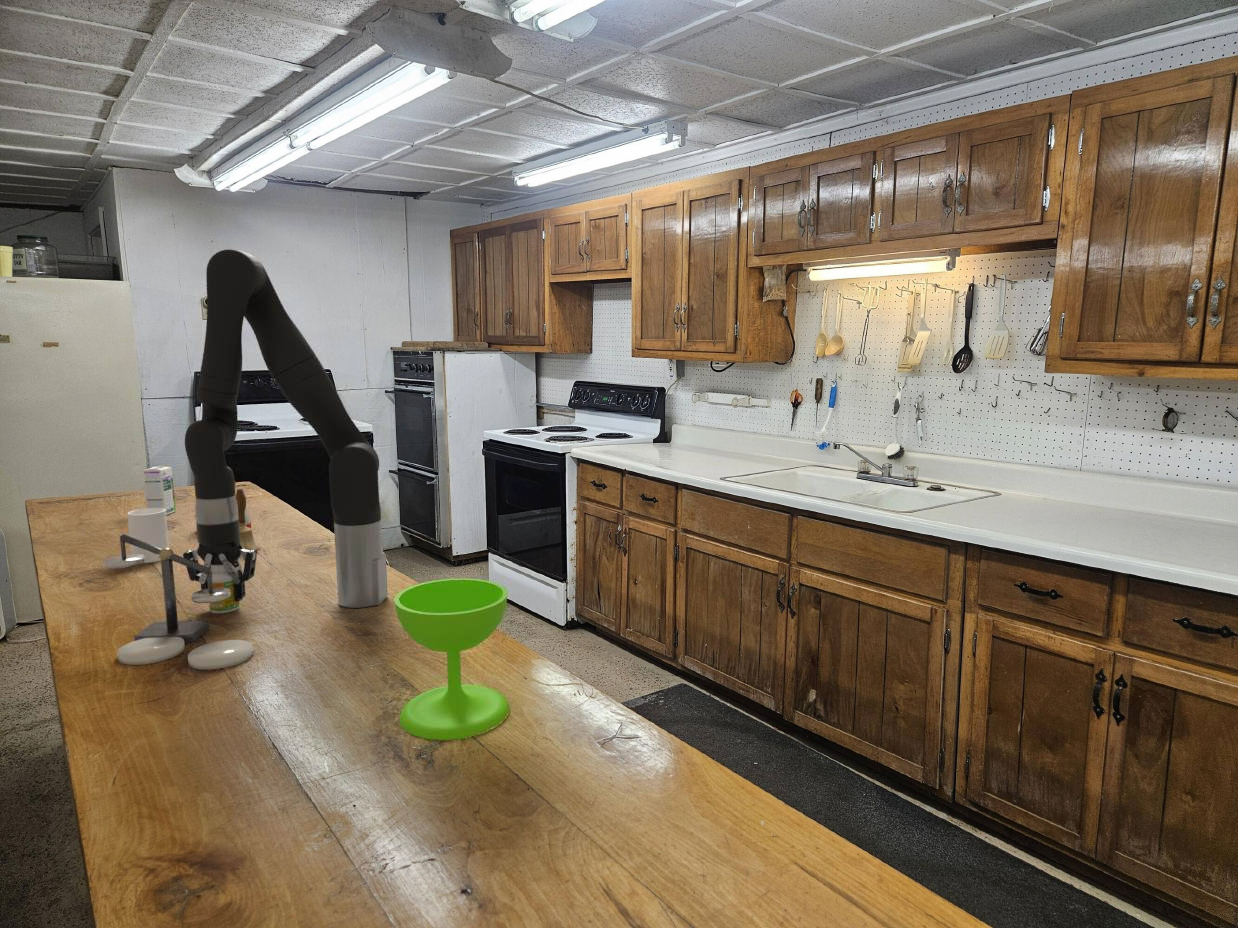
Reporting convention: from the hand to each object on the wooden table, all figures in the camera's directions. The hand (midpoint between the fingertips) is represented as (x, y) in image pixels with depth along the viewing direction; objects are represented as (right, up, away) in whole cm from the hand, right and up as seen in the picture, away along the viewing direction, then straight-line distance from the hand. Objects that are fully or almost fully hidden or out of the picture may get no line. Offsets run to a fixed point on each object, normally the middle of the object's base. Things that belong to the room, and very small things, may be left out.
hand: (224, 599), depth 157 cm
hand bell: (-18, +5, +45) cm, 48 cm away
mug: (-37, +4, +37) cm, 53 cm away
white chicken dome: (-33, +8, +65) cm, 73 cm away
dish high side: (-2, -5, -21) cm, 22 cm away
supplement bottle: (0, -2, 0) cm, 2 cm away
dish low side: (+11, -6, -23) cm, 26 cm away
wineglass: (+56, -9, -42) cm, 70 cm away
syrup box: (-62, +12, +84) cm, 105 cm away
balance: (-2, -4, -14) cm, 14 cm away
